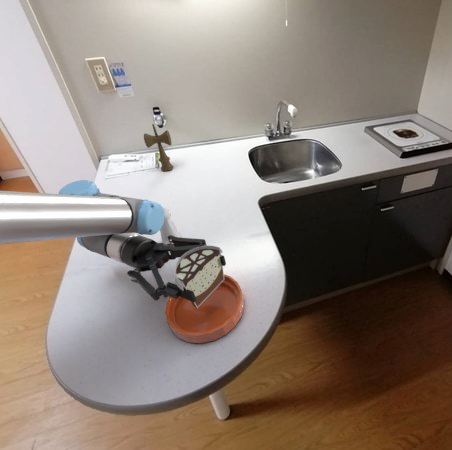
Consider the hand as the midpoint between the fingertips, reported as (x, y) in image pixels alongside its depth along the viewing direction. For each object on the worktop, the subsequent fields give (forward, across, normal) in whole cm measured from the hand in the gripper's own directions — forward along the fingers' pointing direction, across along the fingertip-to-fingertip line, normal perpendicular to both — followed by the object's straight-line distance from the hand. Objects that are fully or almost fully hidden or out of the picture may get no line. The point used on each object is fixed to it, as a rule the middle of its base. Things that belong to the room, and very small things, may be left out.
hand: (209, 278), depth 67 cm
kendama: (-64, -52, -15) cm, 84 cm away
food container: (-4, 0, -6) cm, 7 cm away
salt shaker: (-29, -16, -15) cm, 36 cm away
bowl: (-4, 0, -14) cm, 15 cm away
